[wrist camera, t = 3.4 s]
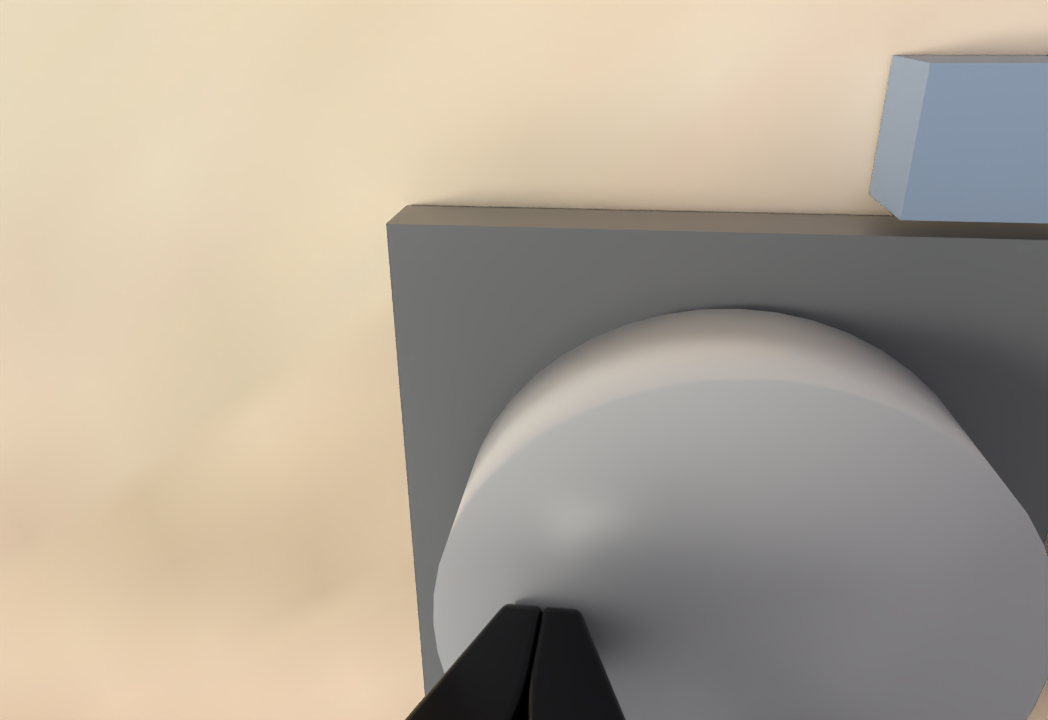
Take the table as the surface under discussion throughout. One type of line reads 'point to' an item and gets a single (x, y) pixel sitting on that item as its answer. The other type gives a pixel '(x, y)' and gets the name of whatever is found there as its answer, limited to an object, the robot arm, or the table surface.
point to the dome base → (692, 284)
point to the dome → (754, 529)
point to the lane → (964, 139)
